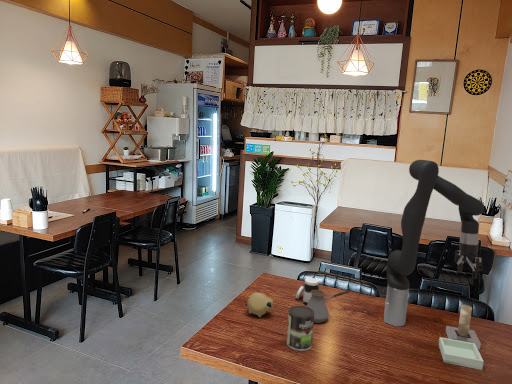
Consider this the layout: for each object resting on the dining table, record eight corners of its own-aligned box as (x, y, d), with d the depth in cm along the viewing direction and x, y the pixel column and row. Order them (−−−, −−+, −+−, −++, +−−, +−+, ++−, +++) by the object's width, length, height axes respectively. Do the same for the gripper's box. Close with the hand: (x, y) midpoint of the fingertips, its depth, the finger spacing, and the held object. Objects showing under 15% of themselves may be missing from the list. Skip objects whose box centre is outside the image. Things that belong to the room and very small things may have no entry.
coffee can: (317, 347, 151) (319, 314, 149) (295, 353, 146) (297, 319, 144) (302, 335, 160) (304, 303, 158) (281, 340, 155) (283, 307, 153)
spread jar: (319, 307, 187) (321, 284, 185) (296, 306, 187) (297, 283, 185) (315, 296, 199) (317, 275, 197) (294, 295, 199) (295, 274, 197)
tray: (444, 362, 145) (445, 354, 144) (438, 344, 157) (439, 337, 156) (482, 369, 141) (483, 361, 140) (473, 351, 153) (474, 343, 153)
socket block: (450, 343, 158) (451, 338, 158) (445, 331, 169) (446, 325, 168) (479, 349, 155) (480, 343, 155) (473, 335, 166) (474, 330, 165)
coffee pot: (304, 324, 169) (306, 292, 167) (302, 312, 181) (304, 282, 178) (352, 327, 168) (355, 295, 166) (347, 315, 180) (350, 285, 177)
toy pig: (270, 321, 170) (271, 299, 169) (244, 317, 173) (245, 295, 171) (274, 311, 180) (275, 290, 178) (249, 308, 182) (250, 287, 181)
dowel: (457, 341, 161) (462, 307, 158) (455, 336, 164) (460, 303, 162) (468, 343, 159) (473, 309, 157) (466, 338, 163) (470, 305, 161)
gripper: (450, 238, 182) (449, 271, 184) (474, 246, 169) (472, 281, 171) (463, 237, 184) (462, 269, 186) (488, 245, 170) (486, 279, 173)
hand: (467, 275), depth 178 cm, fingers open, 8 cm apart
